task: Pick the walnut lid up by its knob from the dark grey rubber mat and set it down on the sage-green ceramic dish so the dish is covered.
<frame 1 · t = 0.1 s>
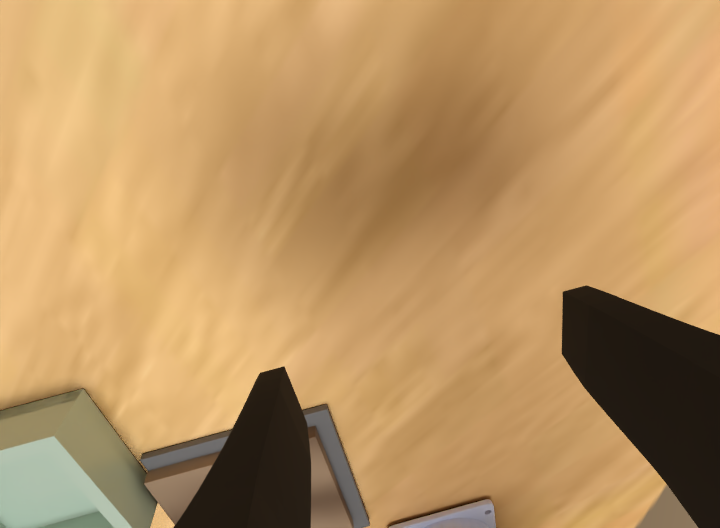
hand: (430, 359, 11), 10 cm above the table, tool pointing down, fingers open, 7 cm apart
mat: (268, 490, 27), on the table
dish: (47, 466, 24), on the table
lid: (260, 498, 27), resting on mat
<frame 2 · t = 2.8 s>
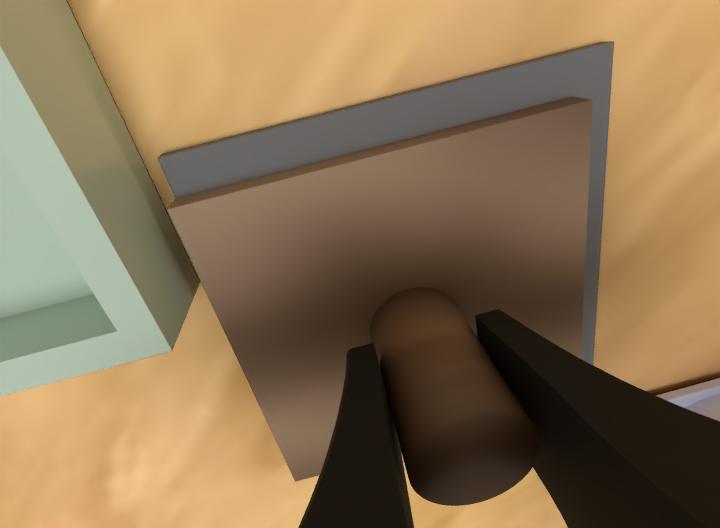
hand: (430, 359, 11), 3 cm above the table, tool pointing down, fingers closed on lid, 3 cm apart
mat: (421, 300, 13), on the table
lid: (408, 311, 13), resting on mat, touching gripper
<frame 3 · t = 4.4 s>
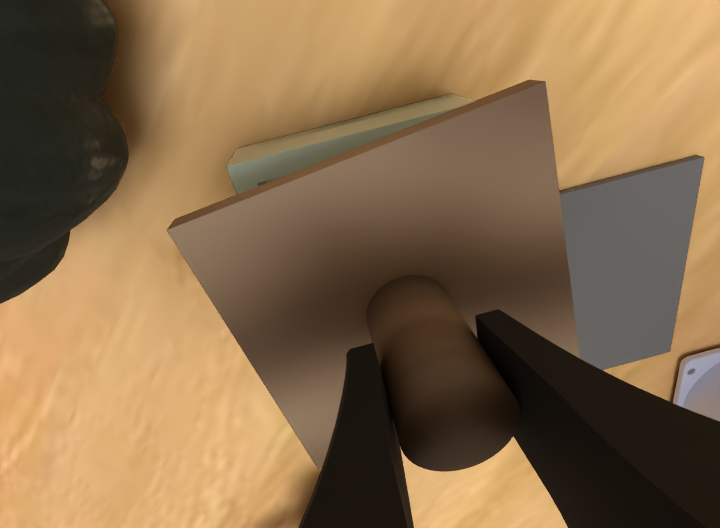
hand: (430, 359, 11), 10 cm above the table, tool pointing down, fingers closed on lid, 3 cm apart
mat: (582, 289, 23), on the table
dish: (367, 221, 19), on the table
lid: (403, 299, 13), point 7 cm above the table, touching gripper
when the fingers open (6 cm above the table, at t = 5.7 s): lid stays where it is, resting on dish.
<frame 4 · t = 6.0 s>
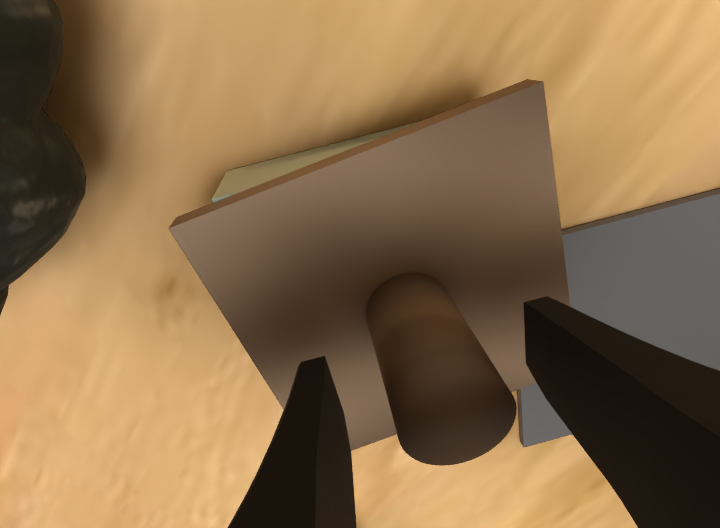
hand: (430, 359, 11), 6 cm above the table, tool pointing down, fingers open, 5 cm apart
mat: (628, 326, 20), on the table
dish: (383, 254, 16), on the table
lid: (402, 296, 13), point 3 cm above the table, touching dish
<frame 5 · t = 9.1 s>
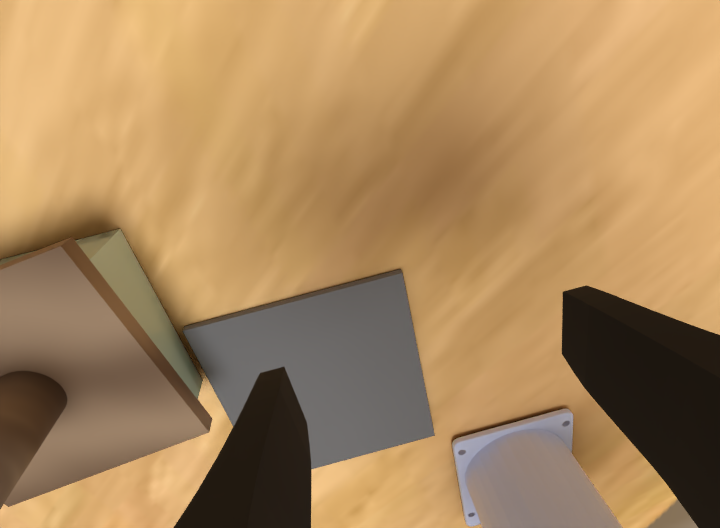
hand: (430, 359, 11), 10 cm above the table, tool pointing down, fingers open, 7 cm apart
mat: (324, 384, 23), on the table
dish: (73, 336, 20), on the table
lid: (41, 382, 17), point 3 cm above the table, touching dish
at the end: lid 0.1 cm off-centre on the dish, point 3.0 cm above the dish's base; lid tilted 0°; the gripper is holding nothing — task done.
